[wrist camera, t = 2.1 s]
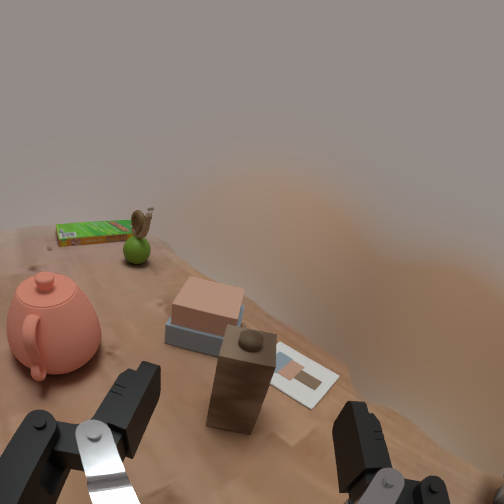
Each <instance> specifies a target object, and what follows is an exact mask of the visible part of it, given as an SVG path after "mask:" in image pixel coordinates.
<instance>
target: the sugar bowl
mask: <svg viewBox="0 0 504 504" xmlns="http://www.w3.org/2000/svg"><path fill="white" fill-rule="evenodd" d="M7 336H8V342H9V345H10V349H11V351H12V353H13V354H14V356H15V357H16V358H17V359H18V360H19V361H20V362H21V363H22V364H23V365H25V366H27V367H28V368H30V369H31V376H32V378H33V379H34V380H36V381H42V380H44V379H45V377H46V374H65V373H69V372H72V371H74V370H76V369H78V368H80V367H81V366H83V365H84V364H85V363H87V362H88V361H89V360H90V359H91V358H92V357H93V356H94V354H95V353H96V351H97V349H98V347H99V344H100V341H101V328H100V324H99V320H98V317H97V315H96V312H95V310H94V308H93V306H92V304H91V303H90V301H89V300H88V298H87V297H86V295H85V294H84V293H83V292H82V290H81V289H80V288H79V287H78V286H77V285H76V284H75V283H74V281H73V280H71V279H70V278H68V277H66V276H64V275H60V274H54V273H52V272H47V271H45V272H40V273H37V274H36V275H35V276H32V277H30V278H28V279H26V280H24V281H23V282H22V283H21V284H20V285H19V287H18V288H17V290H16V292H15V294H14V297H13V300H12V302H11V305H10V308H9V312H8V318H7Z"/></svg>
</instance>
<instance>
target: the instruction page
mask: <svg viewBox="0 0 504 504" xmlns="http://www.w3.org/2000/svg"><path fill="white" fill-rule="evenodd" d="M338 378H339V375H337V374H335V373H334V372H332V371H330V370H328V369H326V368H325V367H323V366H321V365H319V364H318V363H316V362H314V361H312V360H311V359H309V358H307V357H305V356H304V355H302V354H300V353H298V352H297V351H295V350H293V349H292V348H290V347H288V346H287V345H285V344H283V343H282V342H279V343H277V344H276V368H275V371H274V374H273V377H272V380H271V382H270V385H272V386H273V387H275V388H276V389H278V390H280V391H281V392H283V393H284V394H286V395H287V396H289V397H291V398H292V399H294V400H295V401H297V402H299V403H300V404H302V405H303V406H305V407H307V408H308V409H310V410H312V409H313V408H314V407H315V405H316V404H317V403H318V402H319V401H320V400H321V398H322V397H323V396H324V395H325V394H326V393H327V391H328V390H329V389H330V388H331V386H332V385H333V384H334V383H335V381H336V380H337V379H338Z"/></svg>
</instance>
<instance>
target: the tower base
mask: <svg viewBox="0 0 504 504" xmlns="http://www.w3.org/2000/svg"><path fill="white" fill-rule="evenodd" d="M244 290H245V289H243V288H238V287H234V286H230V285H226V284H221V283H217V282H213V281H208V280H204V279H200V278H196V277H191V276H190V277H189V278H188V280H187V281H186V283H185V285H184V286H183V288H182V289H181V291H180V292H179V294H178V295H177V297H176V298H175V300H174V302H173V303H172V314H171V317H170V318H169V320H168V322H167V323H166V329H165V343H167V344H170V345H174V346H177V347H181V348H185V349H189V350H192V351H196V352H200V353H204V354H208V355H212V356H217V357H219V353H220V349H221V345H222V342H223V338H224V335H225V331H226V328H227V324H230V325H234V326H239V327H240V326H241V321H242V316H243V311H244V306H243V305H241V304H242V299H243V295H244Z"/></svg>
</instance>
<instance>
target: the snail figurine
mask: <svg viewBox="0 0 504 504" xmlns="http://www.w3.org/2000/svg"><path fill="white" fill-rule="evenodd" d="M153 209H154V208H153V207H152V208H151V209H150V208H148V210H149V211H150V210H153ZM151 219H152V214H150V213H146V215H145V216H144V214H143V213H142V212H141V211H139V210H136V211H134V212H133V214H132V218H131V223H132V227H131V232H132V234H133V235H134V236H132V237H130V238H129V239H128V240H127V241H126V242H125V244H124V247H123V253H124V256H125V258H126V259H127V260H128V261H129V262H131V263H133V264H141V263H143V262H145V261H146V260H147V259H148V257H149V255H150V250H151V249H150V244H149V242H148V241H147V240H146V239H145V238H144V237H145V236H146V235H147V233H148V231H149V227H150V221H151Z"/></svg>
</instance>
